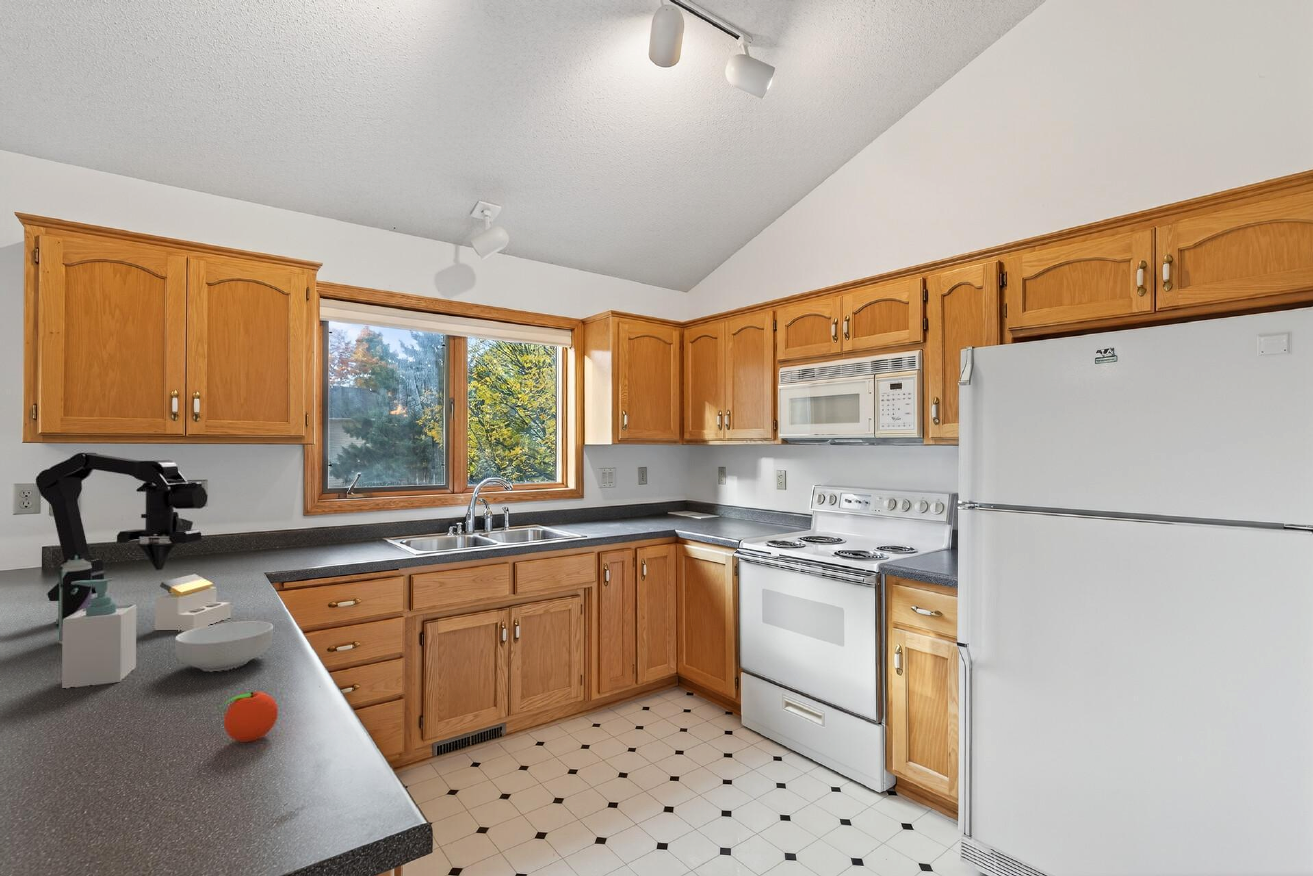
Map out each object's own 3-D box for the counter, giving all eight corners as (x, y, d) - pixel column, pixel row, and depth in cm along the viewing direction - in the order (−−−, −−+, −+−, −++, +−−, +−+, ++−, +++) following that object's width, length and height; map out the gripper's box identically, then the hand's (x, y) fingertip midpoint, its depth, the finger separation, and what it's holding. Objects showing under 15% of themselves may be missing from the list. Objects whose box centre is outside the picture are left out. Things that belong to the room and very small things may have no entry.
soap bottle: (80, 674, 125) (81, 576, 125) (136, 668, 128) (137, 573, 128) (60, 689, 117) (61, 585, 117) (120, 682, 120) (120, 581, 120)
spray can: (71, 645, 143) (72, 556, 143) (52, 643, 144) (53, 555, 144) (97, 637, 148) (98, 552, 149) (78, 636, 150) (79, 551, 150)
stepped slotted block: (155, 630, 154) (155, 597, 154) (194, 617, 166) (195, 586, 166) (193, 631, 153) (193, 598, 154) (230, 618, 165) (231, 587, 166)
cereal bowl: (284, 664, 130) (284, 629, 130) (184, 687, 118) (185, 649, 118) (259, 647, 141) (259, 615, 142) (166, 666, 129) (166, 631, 129)
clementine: (210, 755, 92) (210, 705, 92) (221, 735, 98) (221, 689, 98) (274, 745, 95) (274, 697, 95) (280, 726, 101) (281, 681, 101)
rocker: (158, 588, 155) (161, 582, 155) (192, 579, 165) (194, 573, 165) (178, 598, 155) (181, 592, 155) (210, 589, 165) (212, 583, 165)
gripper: (217, 506, 171) (217, 564, 171) (153, 506, 172) (152, 563, 172) (183, 510, 160) (183, 572, 160) (115, 510, 161) (114, 571, 161)
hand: (159, 569), depth 163 cm, fingers closed
